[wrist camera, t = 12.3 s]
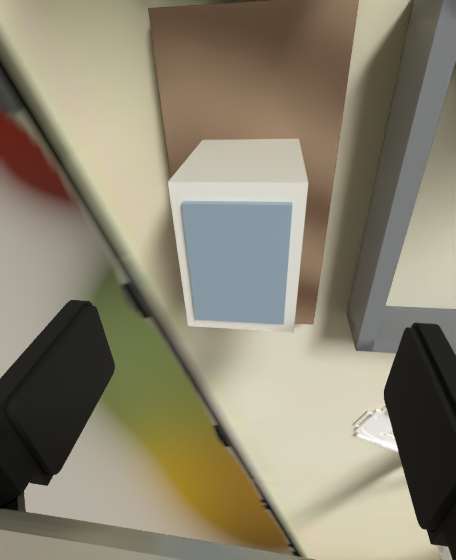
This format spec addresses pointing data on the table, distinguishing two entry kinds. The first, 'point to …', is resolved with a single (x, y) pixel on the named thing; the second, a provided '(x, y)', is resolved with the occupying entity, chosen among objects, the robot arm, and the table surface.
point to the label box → (240, 232)
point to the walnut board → (260, 92)
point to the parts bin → (404, 180)
